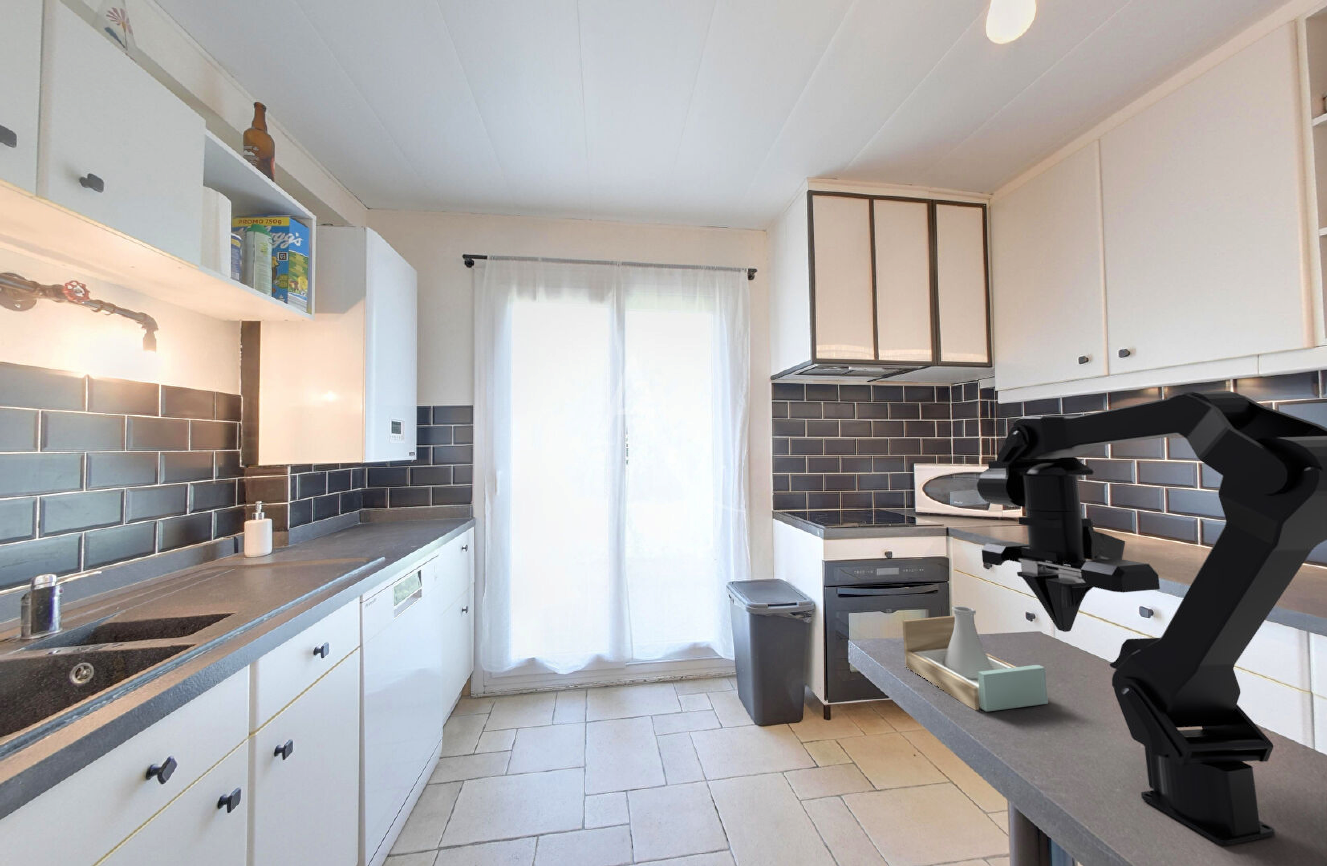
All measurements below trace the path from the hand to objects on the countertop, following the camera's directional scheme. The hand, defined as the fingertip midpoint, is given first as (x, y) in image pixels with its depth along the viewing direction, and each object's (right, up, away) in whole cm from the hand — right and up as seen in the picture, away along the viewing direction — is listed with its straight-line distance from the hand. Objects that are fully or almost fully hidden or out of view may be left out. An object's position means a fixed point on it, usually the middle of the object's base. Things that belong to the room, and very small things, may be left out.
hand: (1064, 630), depth 61 cm
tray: (-3, -14, +13) cm, 20 cm away
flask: (-2, -13, +15) cm, 20 cm away
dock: (-3, -14, +13) cm, 20 cm away
